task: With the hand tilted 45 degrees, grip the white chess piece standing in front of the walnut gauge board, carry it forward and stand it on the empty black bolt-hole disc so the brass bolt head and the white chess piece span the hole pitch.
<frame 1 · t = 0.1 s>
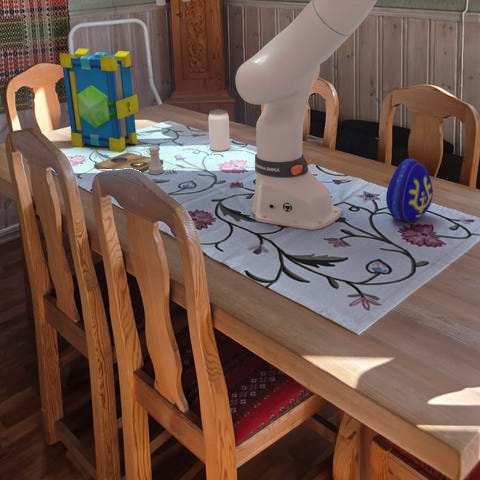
hand: (173, 3, 168), 48 cm above the table, tool pointing down, fingers open, 8 cm apart
brass bolt head: (138, 168, 204), resting on gauge board
ornament: (406, 219, 164), on the table
white chess piece: (156, 173, 200), on the table
gauge board: (129, 166, 206), on the table
decorative book: (104, 145, 228), on the table
can: (219, 149, 220), on the table
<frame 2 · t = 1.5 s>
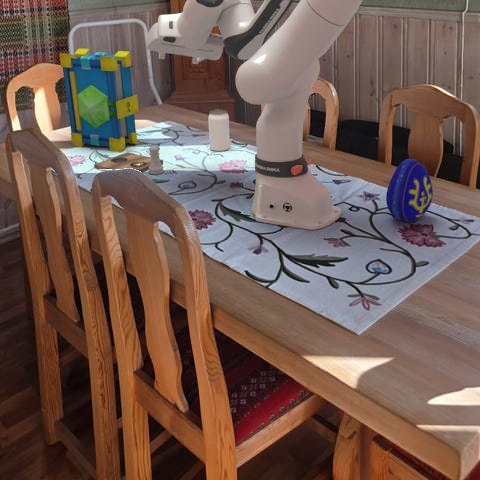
hand: (178, 59, 188), 32 cm above the table, tool tilted 50°, fingers open, 8 cm apart
nothing on the table moved.
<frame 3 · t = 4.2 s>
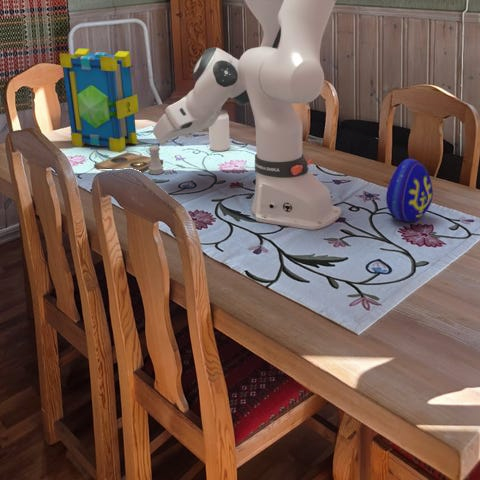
hand: (174, 139, 191), 11 cm above the table, tool tilted 45°, fingers open, 8 cm apart
nothing on the table moved.
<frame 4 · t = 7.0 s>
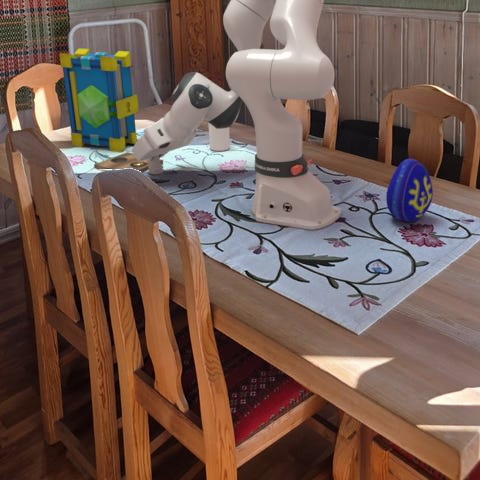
hand: (153, 157, 199), 4 cm above the table, tool tilted 45°, fingers closed on white chess piece, 3 cm apart
white chess piece: (156, 173, 200), on the table, touching gripper
everything else where it was.
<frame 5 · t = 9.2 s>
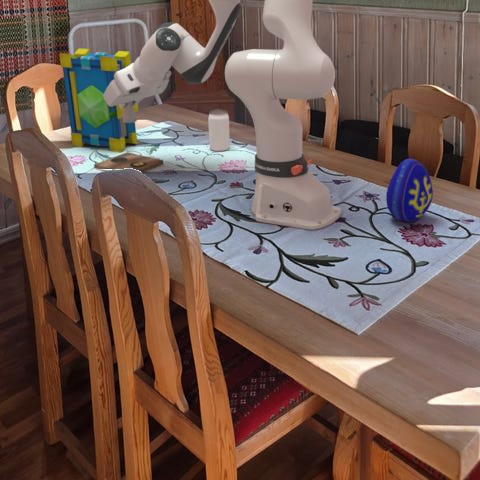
hand: (127, 105, 201), 18 cm above the table, tool tilted 45°, fingers closed on white chess piece, 3 cm apart
white chess piece: (130, 121, 203), point 13 cm above the table, touching gripper
everything else where it was.
when the fingers open (7 cm above the table, at t = 11.8 s): white chess piece stays where it is, resting on gauge board.
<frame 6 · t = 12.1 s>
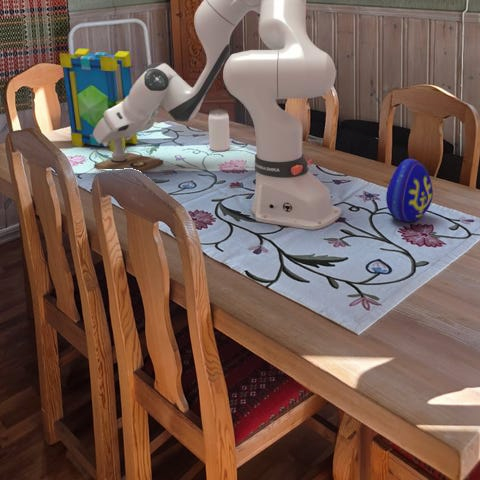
hand: (115, 141, 206), 7 cm above the table, tool tilted 45°, fingers open, 6 cm apart
white chess piece: (119, 160, 208), point 1 cm above the table, touching gauge board
everything else where it was.
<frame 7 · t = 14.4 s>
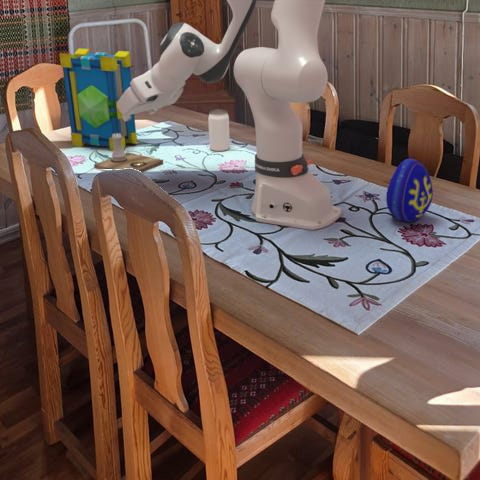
hand: (137, 115, 189), 18 cm above the table, tool tilted 45°, fingers open, 8 cm apart
nothing on the table moved.
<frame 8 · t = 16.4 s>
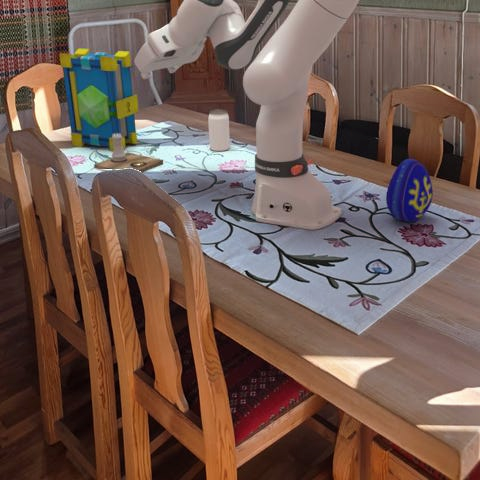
hand: (157, 73, 184), 29 cm above the table, tool tilted 45°, fingers open, 8 cm apart
nothing on the table moved.
at the end: white chess piece 0.1 cm from the target spot on the gauge board, point 1.1 cm above the gauge board's base; white chess piece tilted 0°; the gripper is holding nothing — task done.
